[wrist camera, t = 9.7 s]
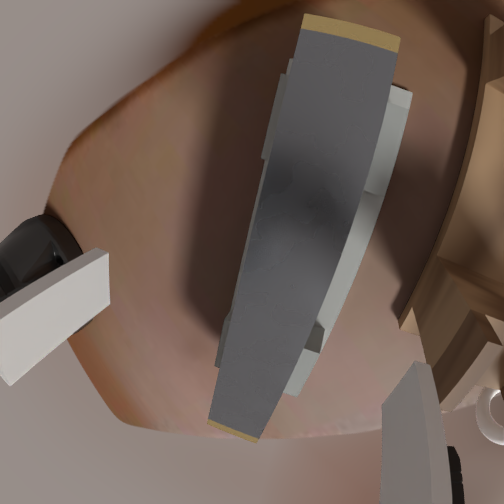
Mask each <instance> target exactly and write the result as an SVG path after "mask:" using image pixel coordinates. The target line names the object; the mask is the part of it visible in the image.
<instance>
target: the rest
mask: <svg viewBox="0 0 504 504" xmlns="http://www.w3.org/2000/svg"><path fill="white" fill-rule="evenodd" d="M292 62H293V59H291V58H290V59H289V63H288V68H287V72H286V74H282V73H281V76H280V80H279V84H278V88H277V92H276V96H275V100H274V104H273V108H272V113H271V117H270V121H269V125H268V129H267V134H266V138H265V142H264V146H263V150H262V155H261V159H264V160H265V163H264V167H263V171H262V175H261V180H260V184H259V188H258V192H257V197H256V201H255V205H254V209H253V214H252V218H251V222H250V227H249V231H248V235H247V239H246V244H245V248H244V252H243V257H242V261H241V265H240V270H239V274H238V279H237V283H236V287H235V292H234V296H233V300H232V305H231V309H230V312H229V313H228V315H227V316H226V317H225V319H224V323H223V328H222V333H221V337H220V342H219V347H218V351H217V356H216V361H215V366H216V367H218V368H220V365H221V360H222V356H223V352H224V347H225V343H226V339H227V334H228V330H229V326H230V322H231V317H232V313H233V309H234V304H235V300H236V296H237V292H238V287H239V283H240V279H241V275H242V270H243V266H244V262H245V258H246V253H247V249H248V245H249V241H250V236H251V232H252V228H253V224H254V220H255V215H256V211H257V207H258V203H259V198H260V194H261V190H262V186H263V182H264V178H265V173H266V169H267V165H268V161H269V157H270V153H271V148H272V144H273V140H274V136H275V132H276V128H277V124H278V119H279V115H280V111H281V107H282V103H283V99H284V95H285V91H286V87H287V82H288V78H289V74H290V70H291V66H292ZM412 94H413V93H412V92H409V91H406V90H404V89H401V88H398V87H396V86H393V85H391V89H390V94H389V98H388V102H387V107H386V111H385V115H384V119H383V123H382V127H381V131H380V134H379V138H378V142H377V146H376V149H375V153H374V156H373V160H372V163H371V167H370V170H369V174H368V177H367V180H366V184H365V187H364V190H363V193H362V196H361V200H360V203H359V206H358V209H357V212H356V215H355V218H354V221H353V224H352V227H351V230H350V232H349V235H348V238H347V241H346V244H345V247H344V249H343V252H342V255H341V258H340V260H339V263H338V266H337V268H336V271H335V274H334V276H333V279H332V281H331V284H330V287H329V289H328V292H327V294H326V297H325V299H324V302H323V304H322V306H321V309H320V311H319V314H318V316H317V318H316V321H315V323H314V326H313V328H312V330H311V333H310V335H309V337H308V339H307V342H306V344H305V346H304V348H303V351H302V353H301V355H300V357H299V359H298V362H297V364H296V366H295V368H294V370H293V372H292V374H291V377H290V379H289V381H288V383H287V385H286V387H285V389H284V391H283V393H286V394H289V395H292V396H294V397H298V395H299V393H300V391H301V389H302V387H303V386H304V384H305V382H306V380H307V378H308V376H309V374H310V373H311V371H312V369H313V367H314V365H315V363H316V361H317V359H318V357H319V355H320V353H321V351H322V349H323V347H324V345H325V343H326V341H327V339H328V336H329V334H330V332H331V330H332V328H333V326H334V324H335V322H336V319H337V317H338V315H339V313H340V311H341V308H342V306H343V304H344V302H345V299H346V297H347V295H348V292H349V290H350V288H351V285H352V283H353V280H354V278H355V276H356V273H357V271H358V268H359V266H360V263H361V261H362V258H363V256H364V253H365V250H366V248H367V245H368V243H369V240H370V237H371V234H372V232H373V229H374V226H375V223H376V221H377V218H378V215H379V212H380V209H381V206H382V203H383V200H384V197H385V194H386V191H387V188H388V185H389V181H390V178H391V175H392V172H393V168H394V165H395V161H396V158H397V154H398V151H399V147H400V144H401V140H402V136H403V132H404V128H405V124H406V120H407V116H408V112H409V108H410V103H411V99H412Z"/></svg>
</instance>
